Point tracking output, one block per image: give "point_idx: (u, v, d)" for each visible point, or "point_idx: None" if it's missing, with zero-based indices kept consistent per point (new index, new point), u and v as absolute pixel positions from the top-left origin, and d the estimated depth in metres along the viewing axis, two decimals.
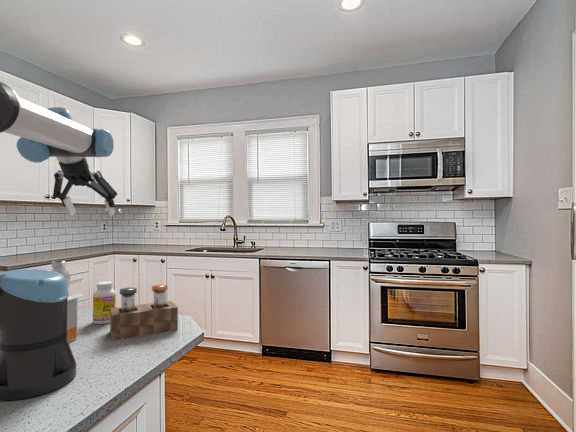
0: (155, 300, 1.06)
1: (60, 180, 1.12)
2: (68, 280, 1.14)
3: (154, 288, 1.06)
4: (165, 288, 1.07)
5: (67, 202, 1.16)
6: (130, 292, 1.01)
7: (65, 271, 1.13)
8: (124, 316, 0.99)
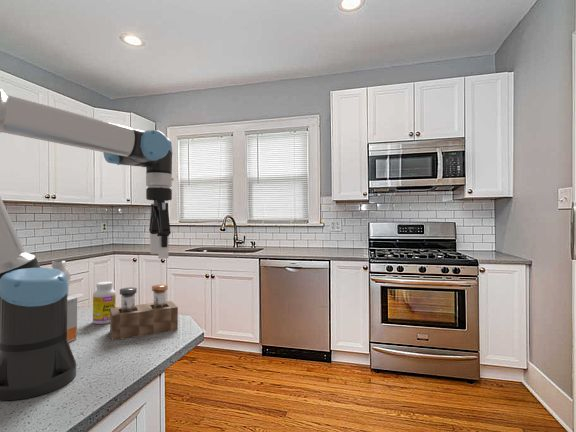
0: (155, 300, 1.06)
1: None
2: (68, 280, 1.14)
3: (154, 288, 1.06)
4: (165, 288, 1.07)
5: (152, 237, 1.13)
6: (130, 292, 1.01)
7: (65, 271, 1.13)
8: (124, 316, 0.99)
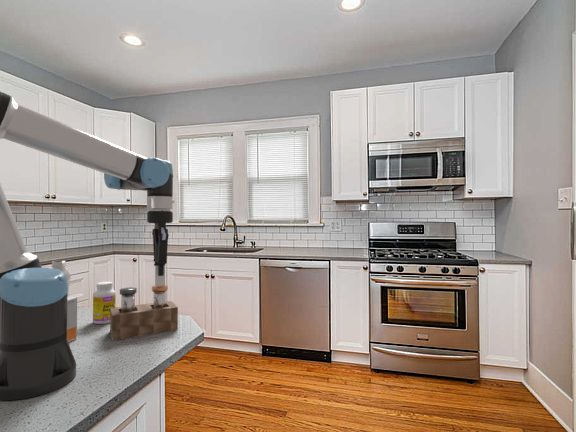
0: (155, 300, 1.06)
1: None
2: (68, 280, 1.14)
3: (154, 288, 1.06)
4: (165, 288, 1.07)
5: None
6: (130, 292, 1.01)
7: (65, 271, 1.13)
8: (124, 316, 0.99)
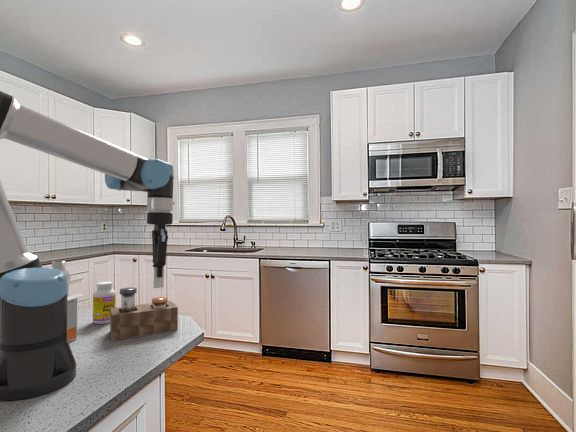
0: None
1: None
2: (68, 280, 1.14)
3: (154, 301, 1.06)
4: (165, 301, 1.07)
5: None
6: (130, 292, 1.01)
7: (65, 271, 1.13)
8: (124, 316, 0.99)
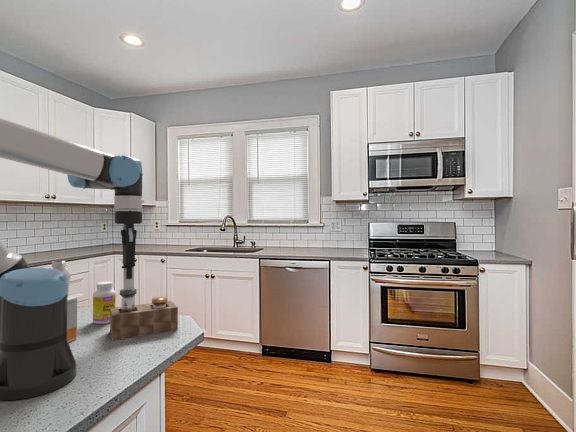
0: None
1: None
2: (68, 280, 1.14)
3: (154, 301, 1.06)
4: (165, 301, 1.07)
5: None
6: (130, 293, 1.01)
7: (65, 271, 1.13)
8: (124, 316, 0.99)
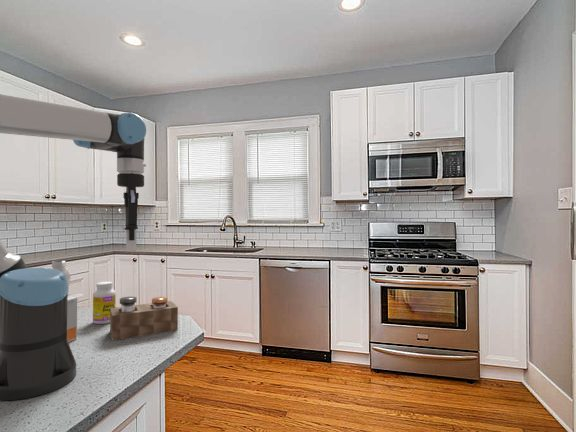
0: None
1: None
2: (68, 280, 1.14)
3: (154, 301, 1.06)
4: (165, 301, 1.07)
5: None
6: (130, 301, 1.01)
7: (65, 271, 1.13)
8: (124, 316, 0.99)
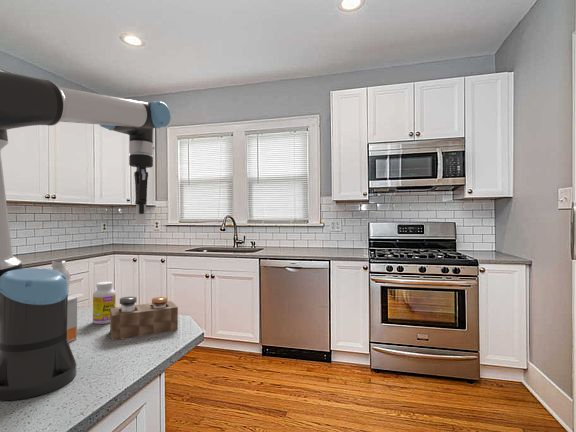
0: None
1: None
2: (68, 280, 1.14)
3: (154, 301, 1.06)
4: (165, 301, 1.07)
5: None
6: (130, 301, 1.01)
7: (65, 271, 1.13)
8: (124, 316, 0.99)
